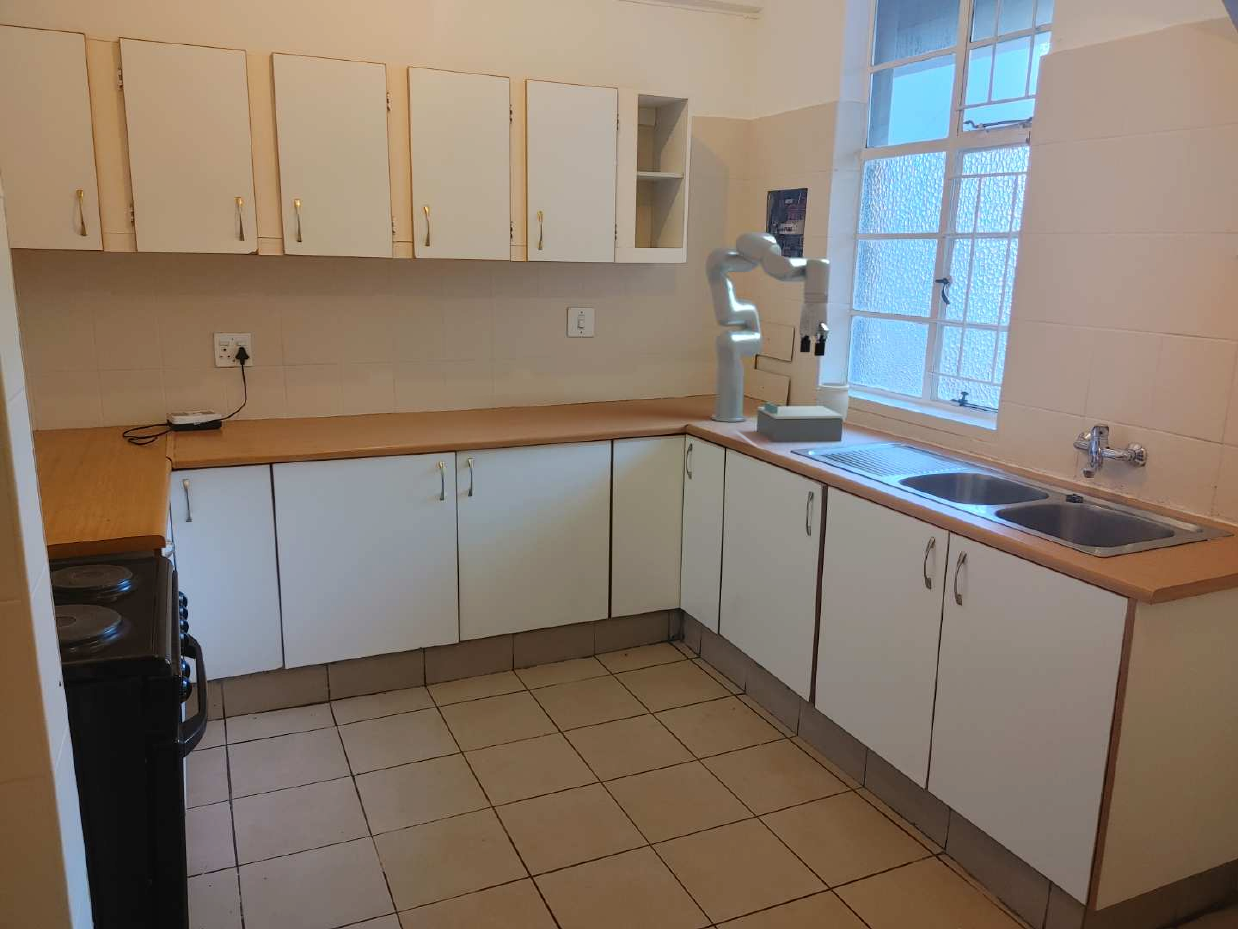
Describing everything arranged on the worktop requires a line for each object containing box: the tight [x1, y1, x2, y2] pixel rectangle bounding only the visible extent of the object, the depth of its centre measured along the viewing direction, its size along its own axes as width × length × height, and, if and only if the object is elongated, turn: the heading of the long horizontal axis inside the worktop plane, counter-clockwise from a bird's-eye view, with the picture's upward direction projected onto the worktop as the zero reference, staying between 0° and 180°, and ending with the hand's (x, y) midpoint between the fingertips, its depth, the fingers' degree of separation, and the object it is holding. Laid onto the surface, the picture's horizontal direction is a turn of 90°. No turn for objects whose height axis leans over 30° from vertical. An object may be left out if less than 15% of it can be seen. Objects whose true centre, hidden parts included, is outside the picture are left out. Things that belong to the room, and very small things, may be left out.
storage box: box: [756, 409, 844, 443], centre depth 295 cm, size 18×22×8 cm
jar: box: [816, 382, 850, 428], centre depth 313 cm, size 11×10×15 cm
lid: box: [757, 401, 843, 419], centre depth 293 cm, size 18×22×3 cm
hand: (811, 353), depth 291 cm, fingers open, 9 cm apart
